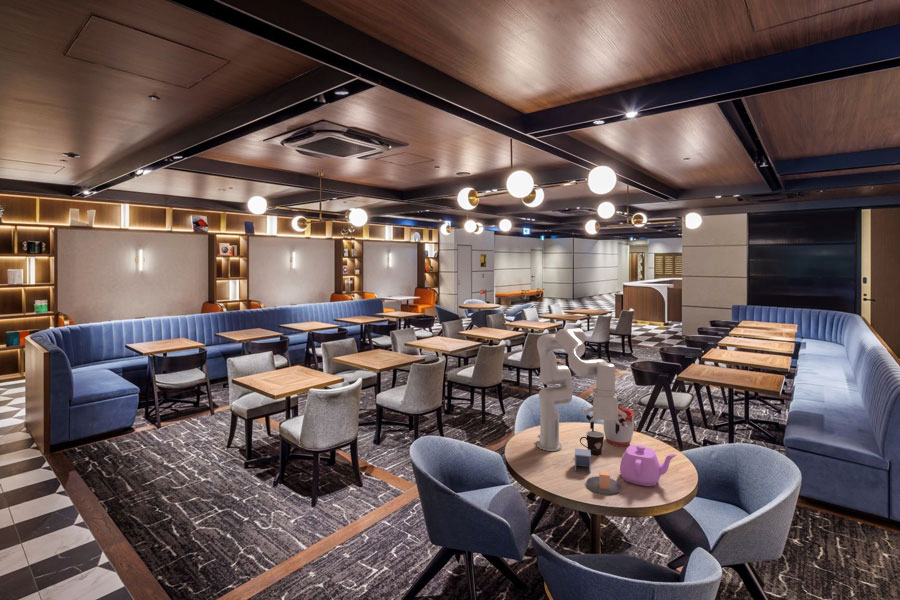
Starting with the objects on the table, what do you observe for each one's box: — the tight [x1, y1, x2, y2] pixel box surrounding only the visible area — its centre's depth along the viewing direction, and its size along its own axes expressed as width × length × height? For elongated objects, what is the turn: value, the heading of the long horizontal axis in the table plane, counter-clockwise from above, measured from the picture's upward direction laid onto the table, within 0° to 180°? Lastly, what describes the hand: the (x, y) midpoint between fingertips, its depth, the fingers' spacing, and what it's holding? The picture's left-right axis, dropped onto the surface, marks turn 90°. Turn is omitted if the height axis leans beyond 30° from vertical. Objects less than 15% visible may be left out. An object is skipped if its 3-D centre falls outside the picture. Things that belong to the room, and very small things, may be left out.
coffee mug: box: [579, 430, 605, 457], centre depth 227 cm, size 12×9×10 cm
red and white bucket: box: [603, 405, 635, 447], centre depth 239 cm, size 16×17×20 cm
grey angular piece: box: [574, 447, 592, 473], centre depth 210 cm, size 7×7×8 cm
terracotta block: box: [598, 469, 611, 489], centre depth 191 cm, size 4×4×6 cm
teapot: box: [619, 444, 678, 487], centre depth 196 cm, size 23×21×15 cm
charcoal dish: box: [585, 476, 622, 496], centre depth 193 cm, size 14×14×1 cm
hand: (604, 431), depth 191 cm, fingers open, 9 cm apart
